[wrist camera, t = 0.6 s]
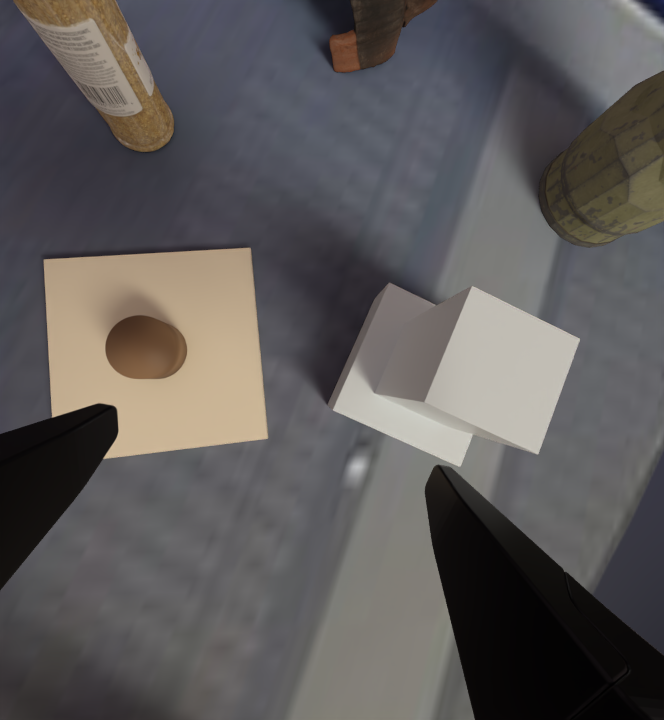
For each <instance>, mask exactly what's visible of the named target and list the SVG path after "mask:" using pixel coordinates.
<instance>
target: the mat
mask: <svg viewBox="0 0 664 720" xmlns="http://www.w3.org/2000/svg"><path fill="white" fill-rule="evenodd" d="M44 275H45V294H46V312H47V331H48V349H49V368H50V387H51V405H52V418H53V417H56V416H59V415H62V414H65V413H69V412H72V411H75V410H78V409H81V408H84V407H88V406H91V405H94V404H97V403H103V404H108V405H113V406H115V407H116V408H117V412H118V428H119V432H118V436H117V438H116V440H115V442H114V443H113V445H112V446H111V448H110V449H109V451H108V452H107V454H106V455H105V457H104V458H103V459H106V458H114V457H122V456H130V455H139V454H147V453H155V452H163V451H171V450H179V449H188V448H196V447H204V446H212V445H220V444H228V443H236V442H245V441H253V440H261V439H268V428H267V418H266V407H265V396H264V385H263V374H262V363H261V352H260V341H259V330H258V319H257V308H256V297H255V287H254V276H253V265H252V254H251V249H250V248H236V249H219V250H201V251H184V252H166V253H149V254H131V255H114V256H97V257H79V258H62V259H44ZM136 315H144V316H150V317H153V318H155V319H158V320H160V321H162V322H165V323H167V324H169V325H171V326H173V327H175V328H176V329H178V330H179V331H180V332H181V334H182V335H183V337H184V338H185V341H186V344H187V356H186V359H185V362H184V364H183V365H182V367H181V368H180V369H179V370H178V371H177V372H176V373H175V374H173V375H171V376H169V377H167V378H163V379H132V378H128V377H125V376H123V375H121V374H119V373H118V372H117V371H115V370H114V369H113V367H112V366H111V365H110V363H109V362H108V359H107V357H106V352H105V344H106V339H107V336H108V334H109V332H110V331H111V329H112V328H113V327H114V326H115V325H116V324H117V323H118V322H120V321H121V320H123V319H125V318H127V317H131V316H136Z"/></svg>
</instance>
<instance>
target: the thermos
mask: <svg viewBox="0 0 664 720" xmlns="http://www.w3.org/2000/svg"><path fill="white" fill-rule="evenodd" d="M539 200H540V205H541V209H542V213H543V215H544V216H545V218H546V220H547V222H548V224H549V226H550V227H551V228H552V229H553V230H554V231H555V232H556V233H557V234H558V235H559V236H560V237H561V238H563V239H565V240H567V241H568V242H570V243H572V244H574V245H578V246H583V247H589V248H590V247H597V246H603V245H606V244H608V243H610V242H612V241H614V240H616V239H617V238H619V237H621V236H623V235H626V234H633V233H638V232H640V231H642V230H644V229H647V228H649V227H651V226H654V225H656V224H658V223H660V222H663V221H664V71H662V72H660V73H658V74H656V75H654V76H652V77H650V78H648V79H646V80H644V81H642V82H640V83H638V84H636V85H635V86H634V87H632V88H631V89H630V90H629V91H628V92H627V93H626V94H625V95H623V96H622V97H621V98H620V99H619V100H618V101H617V102H615V103H614V104H613V105H612V106H611V107H610V108H609V109H607V110H606V111H605V112H604V113H603V114H602V115H601V116H600V117H598V118H597V119H596V120H595V121H594V122H593V123H592V124H590V125H589V126H588V127H587V128H586V129H585V130H584V131H583V132H581V133H580V135H579V136H578V137H577V138H576V139H575V140H574V141H573V142H572V143H571V144H570V147H569V148H568V149H566V150H565V151H564V152H562V153H560V154H559V155H558V156H557V157H556V158H555V159H554V160H553V161H552V162H551V163H550V164H549V165H548V166H547V167H546V169H545V171H544V173H543V176H542V178H541V180H540V187H539Z"/></svg>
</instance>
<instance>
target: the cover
mask: <svg viewBox="0 0 664 720" xmlns="http://www.w3.org/2000/svg"><path fill="white" fill-rule="evenodd" d="M579 341H580V339H579V338H577V337H575V336H573V335H571V334H569V333H567V332H565V331H563V330H561V329H559V328H557V327H555V326H553V325H550V324H548V323H546V322H544V321H542V320H540V319H538V318H536V317H534V316H532V315H530V314H528V313H526V312H524V311H522V310H520V309H518V308H516V307H514V306H512V305H510V304H508V303H506V302H504V301H502V300H500V299H498V298H496V297H493V296H491V295H489V294H487V293H485V292H483V291H481V290H479V289H477V288H475V287H473V286H471V287H469V288H467V289H466V290H464V291H462V292H460V293H458V294H457V295H455V296H453V297H451V298H449V299H447V300H446V301H444V302H442V303H440V304H438V305H435V304H433V303H431V302H429V301H427V300H424V299H422V298H420V297H418V296H416V295H414V294H412V293H410V292H408V291H406V290H404V289H402V288H400V287H397V286H395V285H393V284H391V283H388V284H387V285H386V287H385V288H384V289H383V290H382V291H381V292H380V293H379V294H378V295H377V296H376V298H375V299H374V301H373V303H372V306H371V308H370V310H369V312H368V315H367V317H366V319H365V321H364V324H363V326H362V328H361V330H360V333H359V335H358V337H357V339H356V342H355V344H354V346H353V348H352V351H351V353H350V355H349V357H348V360H347V362H346V364H345V366H344V369H343V371H342V373H341V375H340V378H339V380H338V382H337V384H336V387H335V389H334V391H333V393H332V396H331V398H330V400H329V402H328V406H329V407H330V408H331V409H332V410H334V411H336V412H338V413H340V414H343V415H345V416H347V417H349V418H352V419H354V420H356V421H358V422H360V423H363V424H365V425H367V426H369V427H372V428H374V429H376V430H378V431H381V432H383V433H385V434H387V435H390V436H392V437H394V438H396V439H399V440H401V441H403V442H405V443H407V444H410V445H412V446H414V447H416V448H419V449H421V450H423V451H425V452H428V453H430V454H432V455H434V456H437V457H439V458H441V459H443V460H446V461H448V462H450V463H452V464H454V465H457V466H459V467H460V466H461V464H462V461H463V459H464V456H465V453H466V451H467V448H468V446H469V443H470V441H471V438H472V435H477V436H480V437H483V438H486V439H489V440H493V441H496V442H499V443H502V444H506V445H509V446H512V447H515V448H519V449H522V450H525V451H528V452H532V453H535V454H538V453H539V451H540V448H541V445H542V442H543V440H544V437H545V434H546V431H547V429H548V426H549V423H550V420H551V418H552V415H553V412H554V409H555V407H556V404H557V401H558V398H559V396H560V393H561V390H562V387H563V385H564V382H565V379H566V376H567V374H568V371H569V368H570V365H571V363H572V360H573V357H574V354H575V352H576V349H577V346H578V343H579Z"/></svg>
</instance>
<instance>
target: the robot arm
mask: <svg viewBox="0 0 664 720" xmlns="http://www.w3.org/2000/svg"><path fill="white" fill-rule="evenodd" d="M118 432H119V428H118V412H117V408H116V407H115V406H113V405H108V404H103V403H97V404H94V405H91V406H88V407H84V408H81V409H78V410H75V411H72V412H69V413H65V414H62V415H59V416H56V417H53V418H50V419H46V420H43V421H40V422H37V423H34V424H31V425H27V426H24V427H21V428H18V429H15V430H12V431H8V432H5V433H2V434H0V590H1V589H2V588H3V586H4V585H5V584H6V583H7V581H8V580H9V579H10V578H11V577H12V575H13V574H14V573H15V572H16V570H17V569H18V568H19V567H20V566H21V564H22V563H23V562H24V561H25V559H26V558H27V557H28V556H29V555H30V553H31V552H32V551H33V550H34V548H35V547H36V546H37V545H38V544H39V542H40V541H41V540H42V539H43V537H44V536H45V535H46V534H47V533H48V531H49V530H50V529H51V528H52V526H53V525H54V524H55V523H56V522H57V520H58V519H59V518H60V517H61V515H62V514H63V513H64V512H65V511H66V509H67V508H68V507H69V506H70V504H71V503H72V502H73V501H74V500H75V498H76V497H77V496H78V494H79V493H80V492H81V491H82V489H83V488H84V486H85V485H86V484H87V482H88V481H89V479H90V478H91V476H92V475H93V473H94V472H95V470H96V469H97V467H98V466H99V464H100V463H101V461H102V460H103V458H104V457H105V455H106V454H107V452H108V451H109V449H110V448H111V446H112V445H113V443H114V442H115V440H116V438H117V436H118ZM425 497H426V504H427V511H428V519H429V526H430V533H431V539H432V545H433V550H434V554H435V559H436V563H437V567H438V571H439V575H440V579H441V583H442V587H443V591H444V595H445V599H446V603H447V608H448V612H449V616H450V620H451V624H452V628H453V632H454V636H455V640H456V644H457V648H458V652H459V657H460V661H461V665H462V669H463V673H464V677H465V681H466V685H467V689H468V693H469V697H470V701H471V705H472V710H473V714H474V718H475V720H664V655H663V654H661V653H660V652H659V651H658V650H656V649H655V648H654V647H653V646H652V645H650V644H649V643H648V642H647V641H646V640H644V639H643V638H642V637H641V636H640V635H638V634H637V633H636V632H635V631H633V630H632V629H631V628H630V627H629V626H628V625H626V624H625V623H624V622H622V620H621V619H619V618H618V617H617V616H616V615H615V614H613V613H612V612H611V611H610V610H609V609H607V608H606V607H605V606H604V605H603V604H602V603H601V602H599V601H598V600H597V599H596V598H595V597H594V596H593V595H592V594H590V593H589V592H588V591H587V590H586V589H585V588H584V587H583V586H581V585H580V584H579V583H578V582H577V581H576V580H575V579H574V578H573V577H572V576H570V575H569V574H568V573H567V572H564V570H563V568H562V567H560V566H559V565H558V564H557V563H556V562H555V561H554V560H553V559H552V558H550V557H549V556H548V555H547V554H546V553H545V552H544V551H543V550H542V549H541V548H539V547H538V546H537V545H536V544H535V543H534V542H533V541H532V540H531V539H529V538H528V537H527V536H526V535H525V534H524V533H523V532H522V531H521V530H520V529H518V528H517V527H516V526H515V525H514V524H513V523H512V522H511V521H510V520H508V519H507V518H506V517H505V516H504V515H503V514H502V513H501V512H500V511H499V510H497V509H496V508H495V507H494V506H493V505H492V504H491V503H490V502H489V501H487V500H486V499H485V498H484V497H483V496H482V495H481V494H480V493H479V492H478V491H476V490H475V489H474V488H473V487H472V486H471V485H470V484H469V483H468V482H466V481H465V480H464V479H463V478H462V477H461V476H460V475H459V474H458V473H457V472H455V471H454V470H453V469H452V468H451V467H449V466H443V465H436V466H435V467H434V468H433V470H432V472H431V475H430V477H429V479H428V481H427V483H426V486H425Z"/></svg>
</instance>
